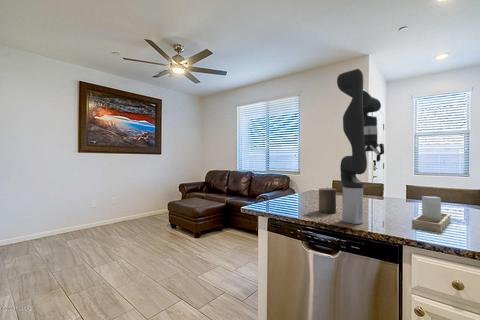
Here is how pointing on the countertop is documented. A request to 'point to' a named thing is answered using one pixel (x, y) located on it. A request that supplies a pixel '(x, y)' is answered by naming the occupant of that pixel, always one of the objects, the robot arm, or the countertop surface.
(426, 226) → the slotted rack
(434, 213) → the skincare box
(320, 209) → the pillar candle
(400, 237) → the countertop surface
